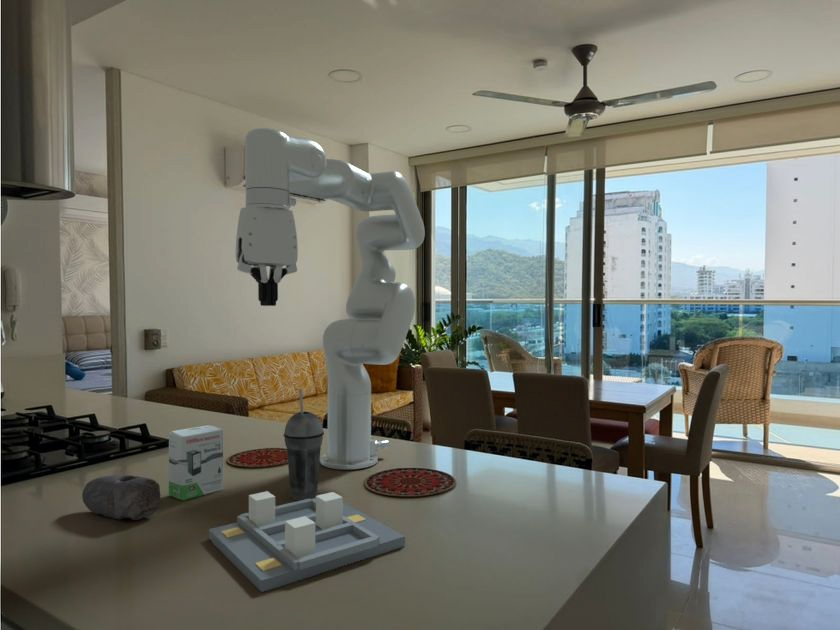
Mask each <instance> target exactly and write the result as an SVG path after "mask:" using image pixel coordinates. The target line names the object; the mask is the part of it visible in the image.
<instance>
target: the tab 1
mask: <svg viewBox="0 0 840 630" xmlns="http://www.w3.org/2000/svg"><path fill="white" fill-rule="evenodd" d="M275 506H276V496H275V495H274V494H272V493H270V491H268V490H265V491H262V492H258V493H253V494H248V513H249V520H250V521H251V522H252V523H253V524H254V525H256V526H257V527H261V526H265V525H269V524H273V523H275Z"/></svg>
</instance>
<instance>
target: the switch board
mask: <svg viewBox="0 0 840 630" xmlns="http://www.w3.org/2000/svg"><path fill="white" fill-rule="evenodd" d="M304 516H306V517H307V518H309V519H310V520H312V521H313V522H315V554H311V555H308V556H304V557H301V558H298V559H297V558H296V557H294V556H293V555H292V554H291V553H289V552H288V551H287V550H286V549H285V521H288V520H292V519H296V518H300V517H304ZM236 519H237V522H233V523H229V524H228V523H227V524H225V525H220V526H216V527H212V528H208V540H209V539H210V540H211V541H212V542H211V541H210V540H209V541H210V542H211V543H212V544H213V545H214V546H215V547H216V548H217V549H218V550H219V551H220V552H221V553H222V554H223V555H224V556H225V558H227V559H228V561H230V562H231V563H232V564H233V565H234V566H235V567H236V568H237V569H238V570H239V571H240V572H241V574H243V575H244V576H245V577H246V578H247V579H248V580H249V581H250V583H252V585H254V586H255V587H256V589H257V590H259V591H260V593H264V591H265V592H268V591H271V590H274V589H277V588H280V587H282V586H283V587H284V586H286V585H289V584H293V583H296V582H299V581H301V580H304V579H307V578H308V579H309V578H311V577H314V576H317V575H320V573H321V574H323V572H324V573H326V571H327V572H329V570H330V571H333V570H336V569H339V568H342V567H345V566H348V565H347V564H349V565H351V563H352V564H354V562H355V563H358V562H360V560H361V561H364V560H367V559H370V558H373V557H376V556H380V555H382V554H386V553H388V552H391V551H392V552H393V551H395V550H397V549H401V548H404V547H405V546H406V543H405V538H406V536H405V535H403V534H401V533H399V532H397V530H393V529H392V528H391V527H388V526H386V525H385V524H383V523H382V522H380V521H378V520H377V519H374V518H373V517H371V516H369V515H367V514H365V513H364V512H362V511H360V510H358V509H356V508H354V507H352V506H351V505H349V504H347V503H345V502H344V501H343V524H341V525H337V526H333V527H330V528H326V529H321V528H320V527H318V526H317V525H316V498H313V499H305V500H301V501H300V500H296V501H293V502H289V503H288V502H287V503H284V504H280V505H275V523H273V524H269V525H265V526H261V527H257V526H256V525H254V524H253V523H252V522H251V521H250V520H249V512H245V513H241V514H240V515H237V518H236ZM366 558H367V559H366ZM357 561H358V562H357ZM344 565H345V566H344ZM341 566H342V567H341ZM338 567H339V568H338ZM335 568H336V569H335ZM332 569H333V570H332ZM298 580H299V581H298Z"/></svg>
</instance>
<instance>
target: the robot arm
mask: <svg viewBox="0 0 840 630" xmlns="http://www.w3.org/2000/svg"><path fill="white" fill-rule="evenodd" d="M244 140H245V142H244V143H245V144H244V147H245V149H244V150H245V155H244V156H245V157H244V158H245V161H244V163H245V165H244V166H245V167H244V168H245V172H244V173H245V206H244V207H241V208H240V211H239V216H238V220H237V226H236V227H237V229H236V239H235V260H236V262H237V269H236V270H237V271H239V272H242V273H246V274H248V275H249V274H250V276H251V277H252V278H253V279H254V280H255V282H256V283H257V285H258V290H257V291H258V293H257V294H258V295H257V297H258V301H259V303H260V306H263V307H273V306H276V305H277V301H278V299H279V283H280V282H281V280H283V278H284V277H285V276H286V275H289V274H290V275H291V274H295V273H297V272H298V268H297V262H298V255H299V253H298V252H299V251H298V250H299V248H298V235H297V234H298V233H297V226H296V220H295V216H294V212H293V210H290V209H291V207H292V206H293V207H295V206H296V205H297V199H296V198H295V197H294V198H293V197H291V193H292V194H295V195H300V196H301V195H302V196H307V197H311V198H312V197H313V198H315V199H316V198H318V199H322V200H323V199H324V200H329V201H333V202H336V203H339V204H342V205H343V206H347V207H349V208H350V209H354V210H357V211H361V212H378V211H394V213H395V214H393V213H392V214H382V215H381V214H379V215H378V214H377V215H371V216H367V217H365V218H363V219H362V220H360V222H358V225H357V227H356V232H355V233H356V234H355V235H356V242H357V246H358V248H359V249H358V250H359V255H360V259H361V268H360V271H359V273H358V275H357V278H356V280H355V281H354V284H353V286H352V288H351V291H350V293H349V295H348V298H347V300H346V304H345V312H346V315H347V316H348V318H349V319H338V320H335V321H332V322H331V323H330V324H328V325H327V327H326V328H325V330H324V331H323V335H322V347H323V353H324V358H325V362H326V371H327V372H326V373H327V452H326V453H324V454H322V455H321V456H320V464H321V465H322V467H325V468H328V469H332V470H343V471H344V470H345V471H346V470H347V471H349V470H350V471H351V470H359V469H365V468H369V467H372V466H374V465H376V464H377V463H378V461H379V459H378V458H379V457H378V454H377V452H378V451H379V450H385V449H389V447H390V442H389V440H388V439H384V440H383V439H382V440H379V441H378V440H377V439H372V422H371V421H372V383H371V378H370V376H369V373H368V371H367V369H366V367H365V366H364V364H365V365H379V366H380V365H382V366H384V365H385V366H386V365H390V364H393V363H394V362H395V361H396V360H397V358H398V357H399V356H400V353H401V351H402V348H403V346H404V344H405V340H406V337H407V335H408V332H409V330H410V327H411V324H412V321H413V318H414V315H415V311H416V299H415V294H414V291H413V290H412V288H411V286H409V285H407V284H405V283H403V282H397V281H396V276H397V274H396V273H397V272H396V270H395V267H394V265H393V264H392V262H391V261H390V258H388V257H387V254H386V252H385V251H407V250H408V251H409V250H414V249H415V250H416V249H418V248H419V247H420V246H421V245H422V244H423V242H424V240H425V235H426V233H425V232H426V231H425V225H424V221H423V218H422V216H421V212H420V210H419V207H418V205H417V202H416V199H415V197H414V195H413V192H412V190H411V187H410V185H409V184H408V182H407V180H406V178H405V177H404V176H403V175H402V174H401V173H400V172H398V171H394V170H392V171H383V172H374V173H372V172H370V173H369V172H367V171H364V170H362V169H360V168H359V167H357V166H356V165H352V164H351V163H349V162H347V161H345V160H342V159H335V158H333V159H332V158H327V155H326V152H325V151H324V149H323V148H322V146H321V145H320V144H319V143H317V142H316V141H314V140H313V139H309V138H307V137H306V138H304V137H297V136H292V135H289V134H288V135H287V134H286V133H284V132H283V131H280V130H279V129H274V128H268V127H267V128H264V127H263V128H262V127H260V128H259V127H258V128H255V129H251V130H249V131H247V133H246V135H245V139H244ZM284 266H285V267H284ZM267 267H269V271H268V269H267ZM395 281H396V282H395Z"/></svg>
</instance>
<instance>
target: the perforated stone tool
mask: <svg viewBox="0 0 840 630" xmlns="http://www.w3.org/2000/svg"><path fill="white" fill-rule="evenodd" d="M160 490H161V487H160V484H159V482H158V481H157V480H154V479H152V478H149V477H143V476H138V475H136V476H135V475H132V474H131V475H129V474H127V475H125V474H124V475H123V474H122V475H121V474H119V475H118V474H117V475H116V474H115V475H105V476H99V477H96V478H94V479H92V480H90V481H88V482H87V483H86V484H85V486H84V488H83V490H82V492H81V493H82V495H81V498H82V501H83V503H84V505H85V507H86V508H87V509H88V510H89V511H91V512H92V513H94V514H97V515H103V516H104V517H107V518H111V519H116V520H123V519H125V518H129V519H131V520H132V521H138V520H139V521H140V520H142V519H143V518H145V517H149V516H152V515H153V514H154V513H155V512H156V511H158V509H159V508H160V505H161V502H162V500H161V497H162V496H161V491H160Z"/></svg>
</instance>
